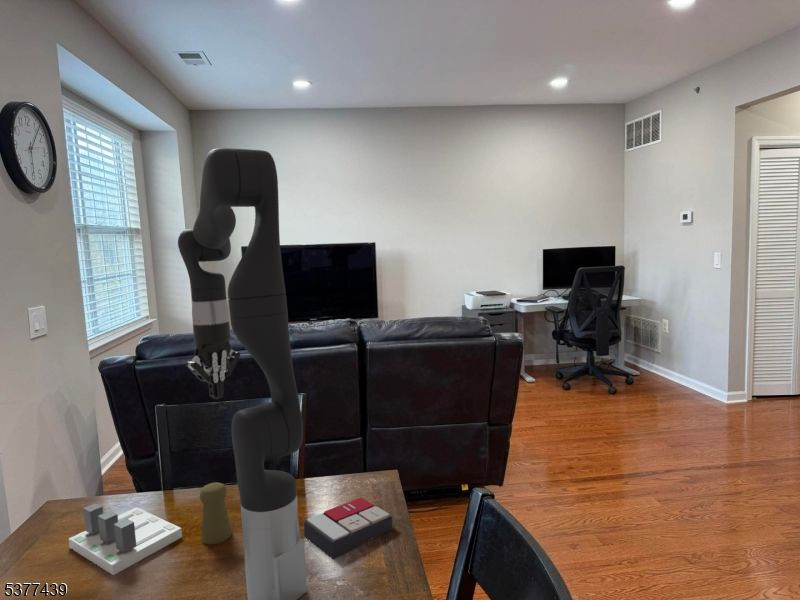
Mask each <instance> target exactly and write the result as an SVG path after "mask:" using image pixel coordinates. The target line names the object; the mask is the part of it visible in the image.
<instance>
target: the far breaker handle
mask: <svg viewBox="0 0 800 600" xmlns="http://www.w3.org/2000/svg"><path fill="white" fill-rule="evenodd" d="M82 511H83V517H84V518H83V519H84V527H85V531H86V532H88V533H90V534H92V535H94V534H96V533H98V532H99V523H98V516H99V515H101V514H103V513H104V508H103V505H101V504H99V503H96V502H95V503H92V504H90V505H88V506H85V507H83V510H82Z"/></svg>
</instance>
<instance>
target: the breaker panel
mask: <svg viewBox="0 0 800 600" xmlns="http://www.w3.org/2000/svg"><path fill="white" fill-rule="evenodd" d="M126 518H127V519H129V520H131V521H133V522H134V527H135V537H136V547H135V548H133V549H131V550H129V551H127V552H125V553H123V552H121V551H120V550H118V549H116V541H115V540H114V541H112V542H110V543H108V544H107V543H105V542H103V541H102V540H100V532H98V533H96V534H94V535H92V534H90V533H88V532H86V530H85V531H81V532H80V533H77V534H76V535H74V536H71V537H69V538H68V543H69V545H68V546H69V548H70V549H71V550H72V549H73V550H72V551H74V552H76V553H77V554H79V555H80V556H82V557H84V558H85V559H87V560H88V561H90V562H91V561H92V563H93V564H95V565H96V564H97V565H96V566H97V567H99V566H100V567H99V568H101V569H102V568H103V569H102V570H104V571H106V572H108V573H109V574H111V575H112V576H115V575H117V574H119V573H120V572H122V571H124V570H125V569H127V568H129V567H131V566H133V565H135V564H136V563H138V562H140V561H142V560H143V559H145V558H147V557H149V556H151V555H152V554H154V553H157V552H158V551H160V550H162V549H163V548H165V547H166V546H169V545H170V544H172V543H174V542H176V541H178V540H179V539H182V538H183V534H182V533H183V531H182V527H180V526H177V525H175V524H173V523H172V522H169V521H168V520H164V519H162V518H160V517H159V516H156V515H154V514H152V513H150V512H148V511H146V510H143V509H141V508H139V507H137V506H136V507H134V508H132V509H130V510H128V511H125V512H123V513H121V514H118V522H119V521H122V520H124V519H126Z"/></svg>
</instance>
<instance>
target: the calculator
mask: <svg viewBox="0 0 800 600" xmlns="http://www.w3.org/2000/svg"><path fill="white" fill-rule="evenodd" d="M303 522H304V523H303V524H304V525H303V527H304V529H303V532H304V538H305V537H306V538H305V539H307V540H308V541H309V540H310V541H311V542H310V541H309V542H310V543H311V544H313V545H316V546H315V547H316V548H318V549H321V550H320V551H322V552H323V553H324V552H325V553H324V554H325V555H326V556H328V557H329V558H330V557H331V558H330V559H332V560H335V558H336V559H338V558H339V557H341V556H343V555H345V554H347V553H349V552H351V551H352V550H353V549H355V548H357V547H359V546H362V545H364V544H365V542H366V543H368V542H369V540H370V539H372V538H374V539H375V537H376V536H378V535H379V536H381V535H383V534H385V533H387V532H389V531H391V530H392V529H393V516H392V515H391V514H390V513H389V512H387V511H385V510H384V509H381V508H380V507H378V506H377V505H376V506H375V504H374V503H371V502H370V501H368V500H367V499H365V498H363V497H359V498H358V497H357V498H356V499H353V500H351V501H348V502H346V503H343V504H340V505H338V506H335V507H333V508H330V509H327V510H324V512H322V513H319V514H316V515H314V516H311V517H308V518H307V519H305V520H304V521H303ZM391 528H392V529H391ZM390 529H391V530H390ZM388 530H389V531H388ZM386 531H387V532H386ZM384 532H385V533H384ZM382 533H383V534H382ZM380 534H381V535H380ZM379 536H378V537H379ZM376 538H377V537H376ZM372 540H373V539H372ZM367 541H368V542H367ZM370 541H371V540H370ZM363 543H364V544H363ZM350 550H351V551H350ZM348 551H349V552H348ZM337 557H338V558H337Z"/></svg>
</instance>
